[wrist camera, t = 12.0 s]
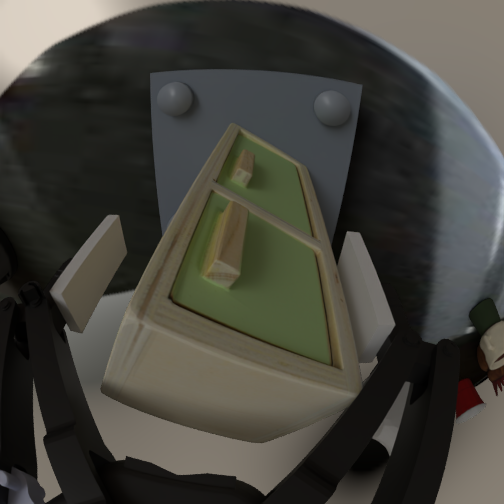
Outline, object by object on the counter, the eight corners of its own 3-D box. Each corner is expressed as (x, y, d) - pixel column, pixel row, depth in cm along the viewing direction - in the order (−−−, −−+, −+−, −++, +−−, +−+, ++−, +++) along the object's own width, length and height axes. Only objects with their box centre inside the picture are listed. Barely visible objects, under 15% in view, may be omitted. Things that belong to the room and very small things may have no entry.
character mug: (455, 315, 44) (478, 369, 34) (478, 289, 40) (507, 343, 29) (481, 322, 45) (502, 370, 35) (502, 299, 41) (527, 347, 31)
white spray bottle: (415, 367, 55) (437, 473, 33) (395, 384, 60) (411, 483, 38) (379, 364, 54) (397, 484, 32) (360, 382, 59) (371, 491, 37)
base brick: (178, 215, 36) (160, 248, 30) (172, 70, 25) (145, 73, 19) (321, 227, 35) (329, 262, 30) (345, 81, 24) (365, 86, 19)
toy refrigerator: (314, 160, 24) (383, 393, 8) (269, 219, 28) (258, 446, 11) (237, 113, 22) (120, 293, 5) (198, 179, 26) (93, 392, 9)
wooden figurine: (470, 352, 52) (488, 402, 40) (477, 339, 49) (498, 391, 37) (489, 345, 51) (508, 392, 39) (497, 332, 48) (518, 381, 36)
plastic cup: (482, 373, 60) (492, 404, 50) (459, 391, 66) (467, 421, 57) (465, 372, 59) (476, 407, 49) (440, 391, 65) (449, 425, 55)
